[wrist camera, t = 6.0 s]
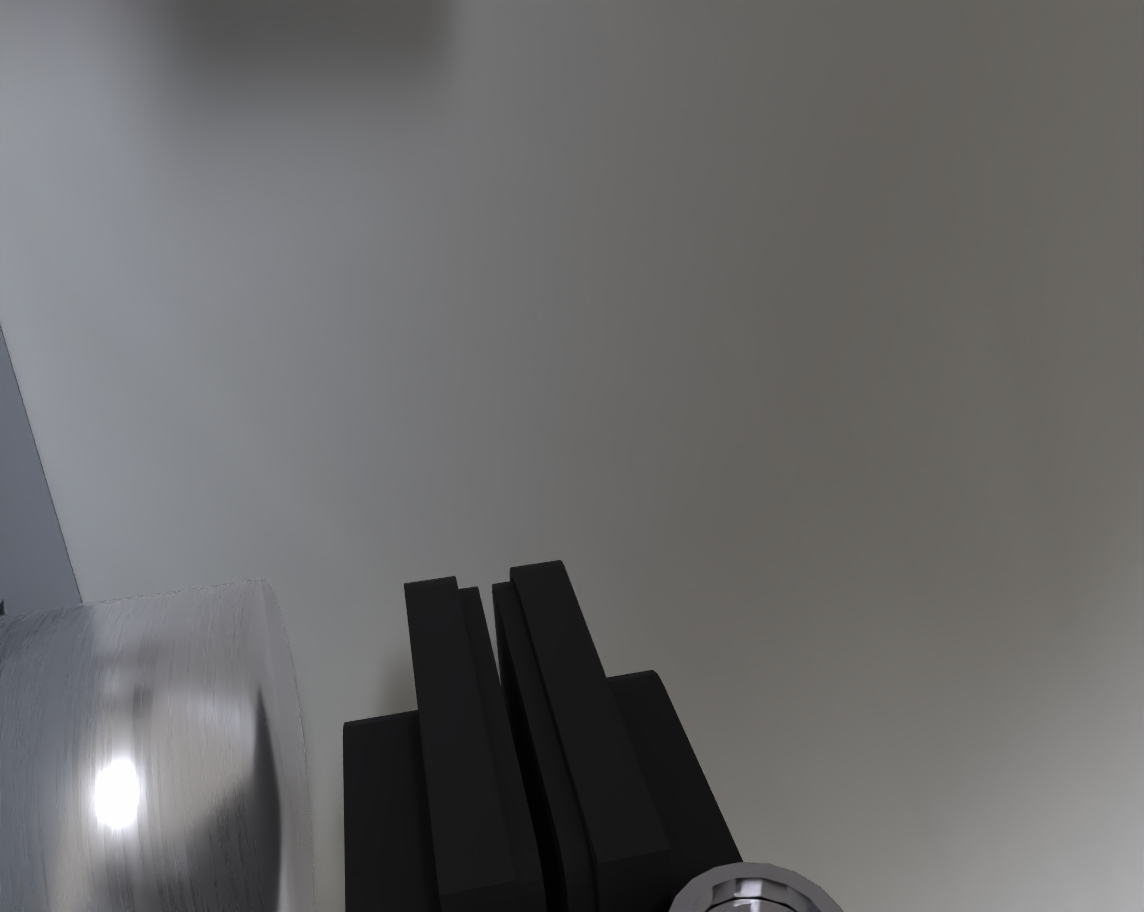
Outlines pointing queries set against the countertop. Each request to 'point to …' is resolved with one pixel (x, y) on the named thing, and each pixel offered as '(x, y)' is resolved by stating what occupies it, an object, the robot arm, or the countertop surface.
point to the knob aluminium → (153, 757)
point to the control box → (27, 515)
